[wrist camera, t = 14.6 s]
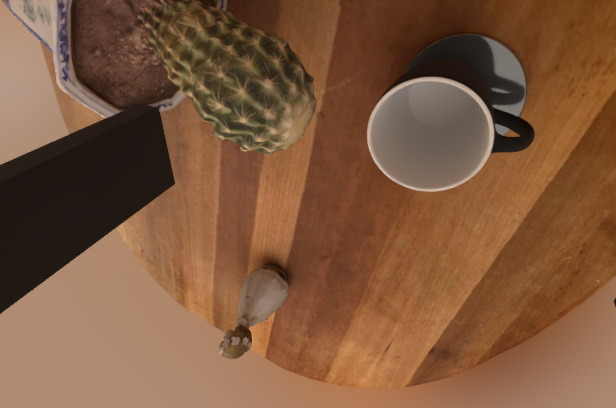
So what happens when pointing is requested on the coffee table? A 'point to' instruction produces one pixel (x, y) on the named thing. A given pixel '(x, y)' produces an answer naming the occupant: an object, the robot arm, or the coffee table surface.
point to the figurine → (255, 307)
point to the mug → (439, 127)
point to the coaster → (484, 68)
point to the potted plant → (176, 64)
